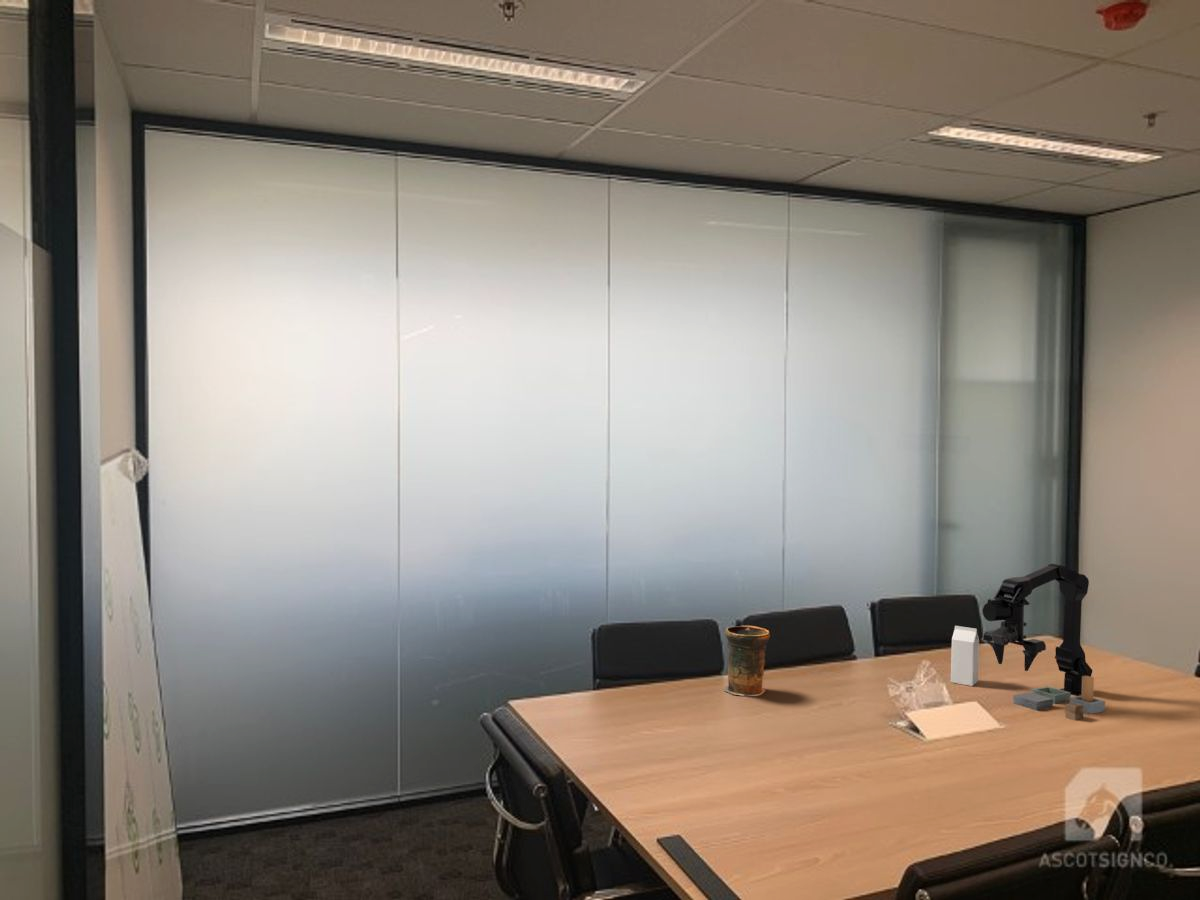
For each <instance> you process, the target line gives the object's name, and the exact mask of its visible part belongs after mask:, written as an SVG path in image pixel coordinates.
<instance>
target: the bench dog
mask: <svg viewBox="0 0 1200 900" xmlns="http://www.w3.org/2000/svg"><path fill="white" fill-rule="evenodd" d="M1064 713H1065V715H1064V716H1065V718H1067V719H1069V720H1073V721H1078V720H1081V719H1084V712H1083V705H1082V704H1078V703H1075V702H1073V703H1065V712H1064Z"/></svg>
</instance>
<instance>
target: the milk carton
mask: <svg viewBox="0 0 1200 900" xmlns="http://www.w3.org/2000/svg"><path fill="white" fill-rule="evenodd" d="M979 648H980V637H979V635H978V629H977V628H973V627H966V626H960V625H954V630H953V634H952V637H951V655H950V657H951V659H950V660H951V661H950V683H953V684H959V685H964V686H969V687H970V686H971V687H973V686H974V685H976V684H977V683H978V681H979V655H980V654H979V652H980V651H979Z"/></svg>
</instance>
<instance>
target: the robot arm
mask: <svg viewBox="0 0 1200 900" xmlns="http://www.w3.org/2000/svg"><path fill="white" fill-rule="evenodd" d="M1052 581H1056V582H1057V583H1059V584H1058V585H1059V590H1060V593H1061V594H1062V597H1063V599H1064V603H1063V604H1064V605H1063V607H1064V608H1063V609H1064V610H1063V611H1064V612H1063V628H1062V629H1063V631H1062V632H1063V634H1062V635H1063V636H1062V642H1061V644H1060V645H1059V646H1055V657H1054V659H1055V662H1056V664H1057V666H1058V671H1060V672H1063V673H1064V679H1063V688H1060V689H1059V690H1063V691H1067V692H1070V693H1071V694H1070V695H1075V696H1081V695H1082V676H1091V677H1092V674H1093V669H1092V668H1091V666H1090V665H1089V664H1088V663H1087V660H1086V652H1085V651H1084V649H1083V647H1082V644H1081V630H1082V627H1081V623H1082V606H1083V605H1082V603H1083V599H1085V597H1086V595H1087V594H1088V591H1089V583H1090V582H1089V578H1088V577H1087V576H1086V574H1082V573H1078V572H1077V571H1074V570H1073V569H1071V568H1068V567H1066V566H1065V565H1064V564H1057V563H1049V564H1048V565H1047V566H1045V567H1042V568H1040V569H1038V570H1036V571H1033V572H1031V573H1029V574H1027V575H1024V576H1016V577H1014V576H1013V577H1009V578H1006V579H1004V580H1002V584H1001V585H1000V587H999V589H998V590H997V592H996V593H995V595H994V597H993V599H991V598H989V599H987V602H986V603H985V604H984V605H983V608H982V609H981V610H982V614H983V617H984V619H985V620H986V621H987V622H996V621H1001V622H1000V627H999V628H997V629H991V630H986V631H984V632H983V634H982V641H986V644H988V645H990V646H991V648H992V649H993V650H992V651H993V652H994V655H995V657H996V660H997V663H998V665H1002V664H1003V660H1004V653H1005V646H1008V645H1009V643H1010V644H1014V645H1018V646H1022V648H1023V650H1022V653H1023V654H1024V665H1023V666H1024V672H1028V671H1029V669H1030V667H1031V666H1032V664H1033V662H1034V660H1035V658H1036V657H1037V656H1038V654H1040V653H1042V652H1043V651H1046V650H1047V645H1046V642H1044V640H1040V639H1035V638H1031V639H1027V635H1026V634H1025V633H1024V631H1025V629H1024V627H1026V626H1027V622H1025V606H1029V605H1030V602H1029V601H1028V600H1027V599H1026V598H1027V597H1028V596H1030V595H1031V594H1032V592H1033V590H1035V589H1036V588H1039V587H1041V586H1043V585H1046V584H1048V583H1050V582H1052Z"/></svg>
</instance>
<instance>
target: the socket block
mask: <svg viewBox="0 0 1200 900" xmlns="http://www.w3.org/2000/svg"><path fill="white" fill-rule="evenodd" d="M1068 702H1069V703H1073V702H1075V703H1078V704H1082V705H1083V713H1087V714H1091V715H1092V714H1097V713H1102V712H1105V711H1106V701H1105V700H1102V699H1099V698H1095V697H1093V702H1091V703H1090V702H1086V701H1083V700H1081V695H1075V696H1070V701H1068Z"/></svg>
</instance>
